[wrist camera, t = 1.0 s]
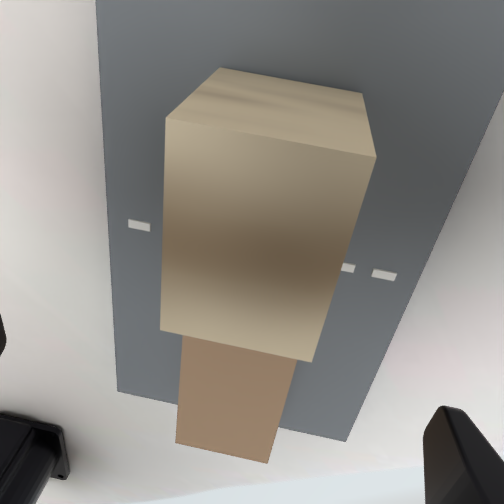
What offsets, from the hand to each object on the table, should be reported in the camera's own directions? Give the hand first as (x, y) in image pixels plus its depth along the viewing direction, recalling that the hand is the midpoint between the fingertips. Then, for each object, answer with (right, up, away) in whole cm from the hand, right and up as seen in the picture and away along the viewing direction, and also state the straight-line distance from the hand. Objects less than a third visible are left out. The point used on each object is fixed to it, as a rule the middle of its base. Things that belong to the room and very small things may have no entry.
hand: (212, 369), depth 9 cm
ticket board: (+1, +3, +12) cm, 12 cm away
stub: (+2, +5, +8) cm, 10 cm away
